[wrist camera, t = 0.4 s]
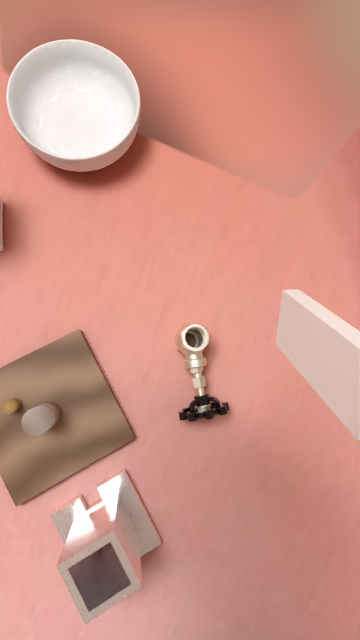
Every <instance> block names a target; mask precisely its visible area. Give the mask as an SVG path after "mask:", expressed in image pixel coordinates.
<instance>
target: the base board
mask: <svg viewBox="0 0 360 640" xmlns="http://www.w3.org/2000/svg"><path fill="white" fill-rule="evenodd" d="M133 439H135V435H134V433H133V431H132V429H131V427H130V426H129V424H128V422H127V420H126V418H125V416H124V414H123V412H122V410H121V408H120V406H119V404H118V402H117V400H116V398H115V396H114V394H113V392H112V390H111V388H110V386H109V385H108V383H107V381H106V379H105V377H104V375H103V373H102V371H101V369H100V367H99V365H98V363H97V361H96V359H95V357H94V355H93V353H92V351H91V349H90V347H89V346H88V344H87V342H86V340H85V338H84V336H83V334H82V332H81V330H80V329H78V330H76V331H74V332H72V333H70V334H68V335H66V336H64V337H62V338H60V339H58V340H56V341H54V342H52V343H50V344H48V345H46V346H44V347H42V348H40V349H38V350H36V351H34V352H32V353H30V354H28V355H25V356H23V357H21V358H19V359H17V360H15V361H13V362H11V363H9V364H7V365H5V366H3V367H1V368H0V475H1V477H2V479H3V481H4V483H5V485H6V487H7V489H8V491H9V493H10V495H11V497H12V499H13V501H14V504H15V506H16V507H17V506H18V505H20V504H22V503H24V502H25V501H27V500H29V499H31V498H32V497H34V496H36V495H38V494H39V493H41V492H43V491H45V490H46V489H48V488H50V487H52V486H53V485H55V484H57V483H58V482H60V481H62V480H64V479H65V478H67V477H69V476H71V475H72V474H74V473H76V472H78V471H79V470H81V469H83V468H85V467H86V466H88V465H90V464H91V463H93V462H95V461H97V460H98V459H100V458H102V457H104V456H105V455H107V454H109V453H111V452H112V451H114V450H116V449H118V448H119V447H121V446H123V445H125V444H126V443H128V442H130V441H131V440H133Z"/></svg>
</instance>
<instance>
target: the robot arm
mask: <svg viewBox="0 0 360 640" xmlns="http://www.w3.org/2000/svg"><path fill="white" fill-rule="evenodd" d="M276 345H277V346H278V347H279V349H280V350H281V351H282V352H283V353H284V355H285V356H286V357H287V358H288V359H289V360H290V362H291V363H292V364H293V365H294V366H295V367H296V369H297V370H298V371H299V372H300V373H301V375H302V376H303V377H304V378H305V379H306V380H307V382H308V383H309V384H310V385H311V386H312V388H313V389H314V390H315V391H316V392H317V393H318V395H319V396H320V397H321V398H322V399H323V401H324V402H325V403H326V404H327V405H328V406H329V408H330V409H331V410H332V411H333V412H334V413H335V415H336V416H337V417H338V418H339V419H340V421H341V422H342V423H343V424H344V425H345V426H346V428H347V429H348V430H349V431H350V432H351V434H352V435H353V436H354V437H355V438H356V439H357V441H359V440H360V331H358V330H357V329H355V328H354V327H352V326H351V325H350V324H348V323H347V322H345V321H344V320H342V319H341V318H339V317H338V316H336V315H335V314H334V313H332V312H331V311H329V310H328V309H326V308H325V307H323V306H322V305H320V304H319V303H318V302H316V301H315V300H313V299H312V298H310V297H309V296H307V295H306V294H304V293H303V292H301V291H300V290H283V291H282V299H281V307H280V314H279V322H278V330H277V338H276Z"/></svg>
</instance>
